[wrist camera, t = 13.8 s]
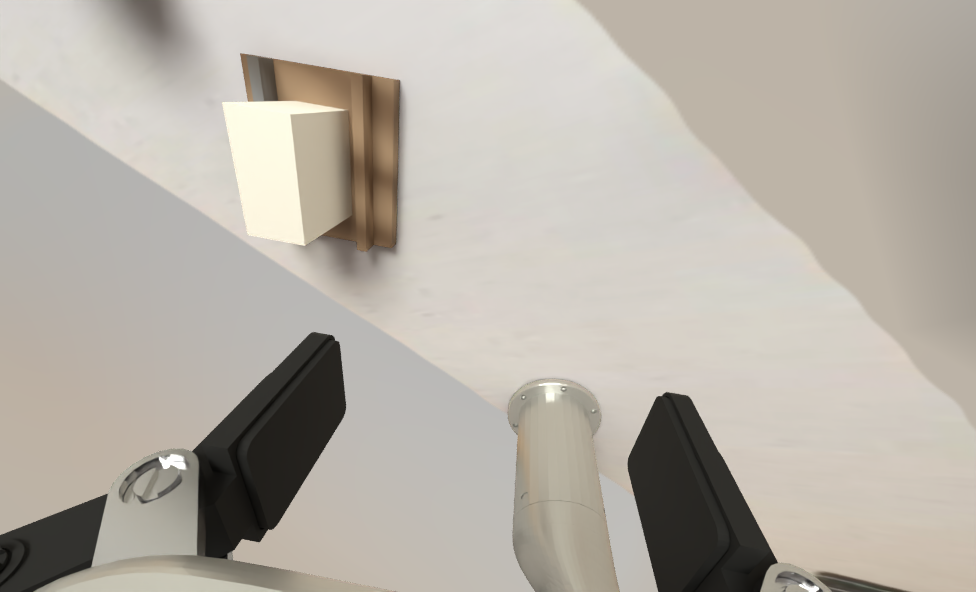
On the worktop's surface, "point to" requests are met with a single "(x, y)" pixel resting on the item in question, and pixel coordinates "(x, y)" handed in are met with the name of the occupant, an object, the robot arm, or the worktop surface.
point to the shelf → (368, 135)
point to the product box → (290, 167)
